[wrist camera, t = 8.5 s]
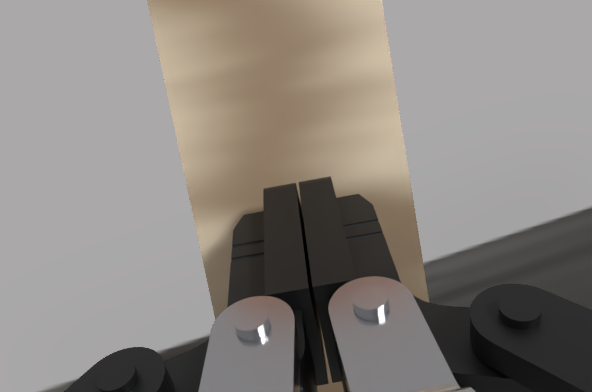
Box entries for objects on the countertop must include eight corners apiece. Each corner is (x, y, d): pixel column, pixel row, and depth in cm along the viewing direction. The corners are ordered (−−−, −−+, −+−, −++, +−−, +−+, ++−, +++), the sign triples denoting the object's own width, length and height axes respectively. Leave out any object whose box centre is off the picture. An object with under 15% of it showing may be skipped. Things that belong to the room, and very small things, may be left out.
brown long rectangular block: (445, 434, 15) (347, -184, 13) (476, 503, 12) (359, -267, 10) (256, 464, 15) (129, -139, 13) (246, 539, 13) (82, -208, 10)
